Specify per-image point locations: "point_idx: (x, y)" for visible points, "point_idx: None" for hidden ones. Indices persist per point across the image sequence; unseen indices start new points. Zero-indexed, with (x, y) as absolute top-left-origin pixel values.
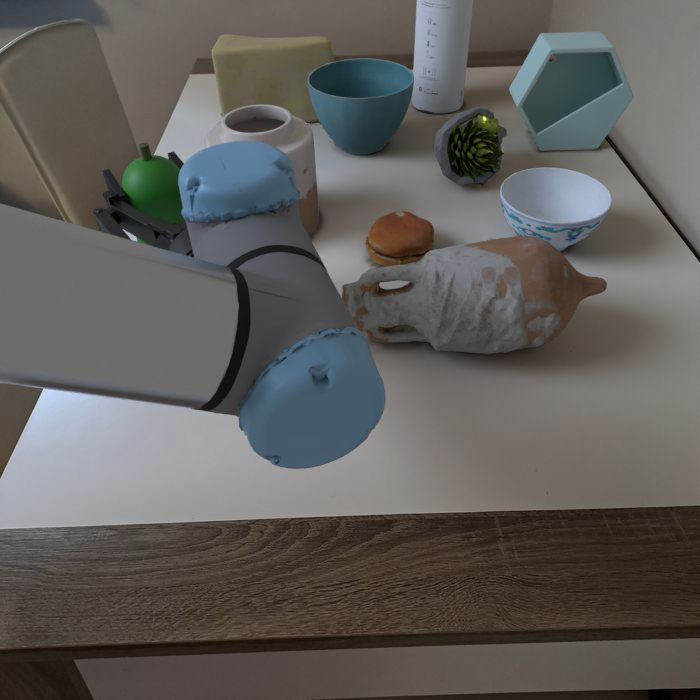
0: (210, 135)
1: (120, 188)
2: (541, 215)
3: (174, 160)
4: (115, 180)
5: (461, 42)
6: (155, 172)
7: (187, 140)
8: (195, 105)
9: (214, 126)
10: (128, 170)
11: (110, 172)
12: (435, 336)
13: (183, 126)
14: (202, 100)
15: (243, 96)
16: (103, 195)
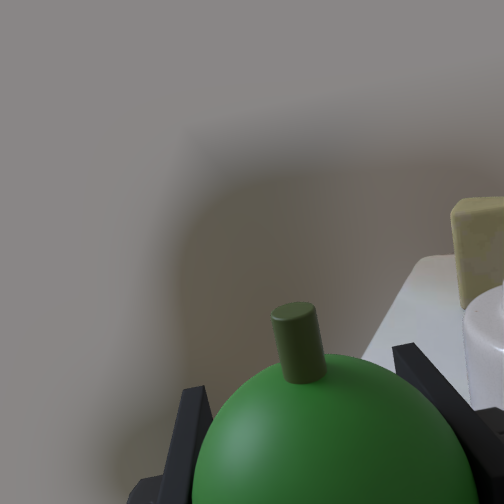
0: (475, 311)
1: (184, 487)
2: None
3: (417, 375)
4: (193, 437)
5: None
6: (330, 453)
7: (409, 323)
8: (419, 284)
9: (479, 296)
10: (221, 416)
11: (199, 399)
12: None
13: (404, 307)
14: (428, 279)
15: (493, 268)
16: (129, 499)
